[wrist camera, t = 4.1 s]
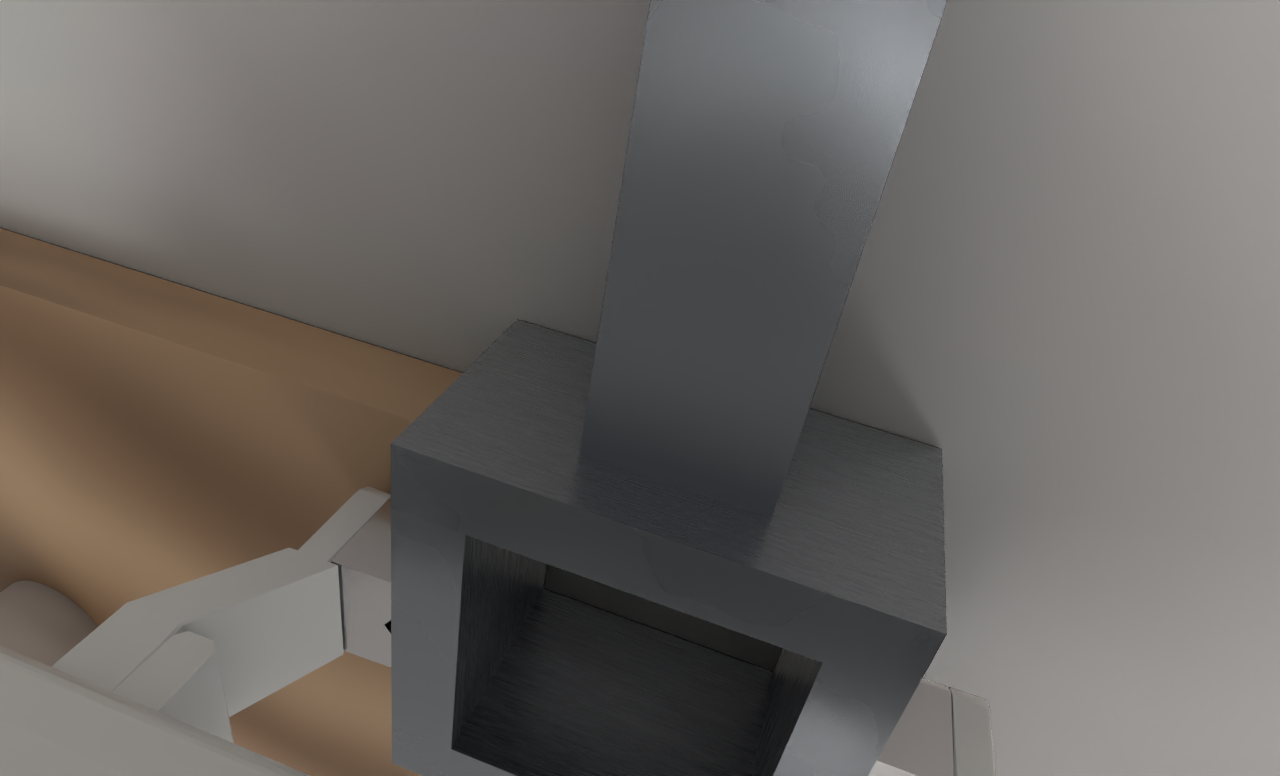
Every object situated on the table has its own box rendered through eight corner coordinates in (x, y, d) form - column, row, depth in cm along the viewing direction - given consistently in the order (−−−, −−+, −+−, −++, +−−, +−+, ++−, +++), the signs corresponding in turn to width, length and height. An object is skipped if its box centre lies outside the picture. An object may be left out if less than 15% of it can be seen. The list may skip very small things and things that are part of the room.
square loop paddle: (813, 726, 15) (784, 926, 12) (490, 607, 16) (391, 762, 13) (1220, -152, 7) (1408, -196, 5) (572, -265, 8) (387, -361, 6)
